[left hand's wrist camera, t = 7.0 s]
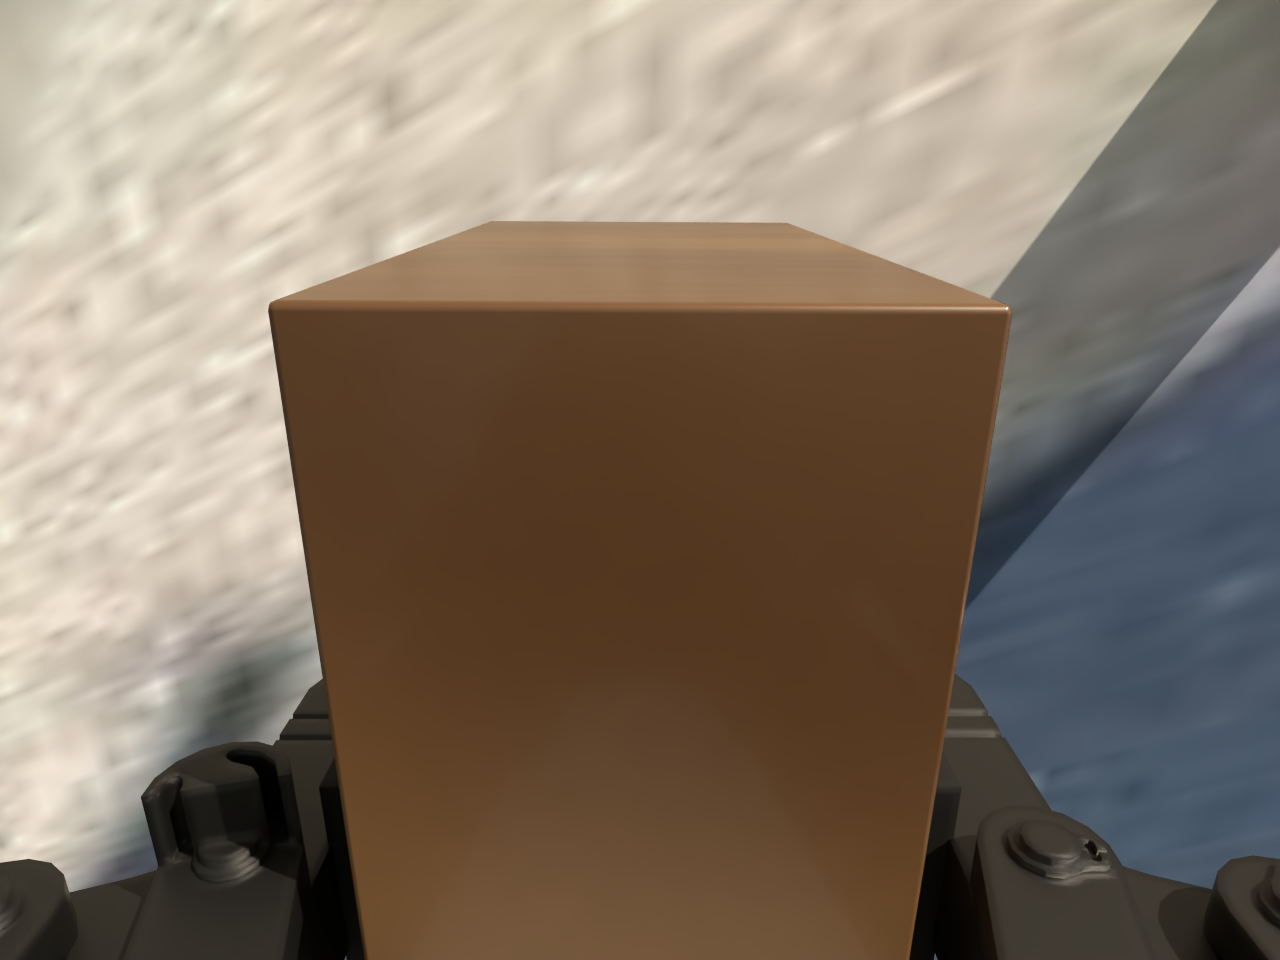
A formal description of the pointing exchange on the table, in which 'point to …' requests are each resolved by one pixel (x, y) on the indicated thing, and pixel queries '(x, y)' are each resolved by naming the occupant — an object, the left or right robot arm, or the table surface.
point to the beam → (638, 583)
